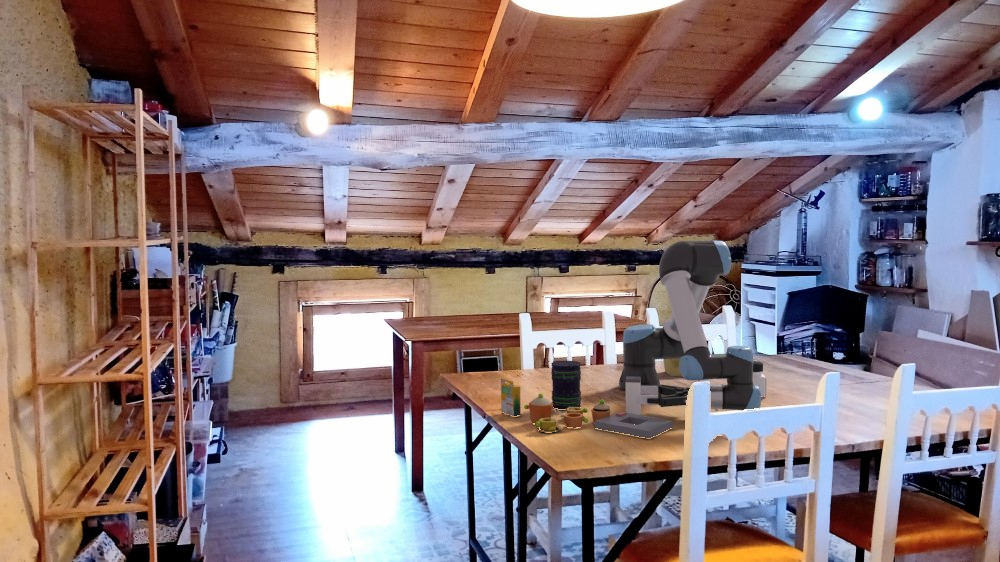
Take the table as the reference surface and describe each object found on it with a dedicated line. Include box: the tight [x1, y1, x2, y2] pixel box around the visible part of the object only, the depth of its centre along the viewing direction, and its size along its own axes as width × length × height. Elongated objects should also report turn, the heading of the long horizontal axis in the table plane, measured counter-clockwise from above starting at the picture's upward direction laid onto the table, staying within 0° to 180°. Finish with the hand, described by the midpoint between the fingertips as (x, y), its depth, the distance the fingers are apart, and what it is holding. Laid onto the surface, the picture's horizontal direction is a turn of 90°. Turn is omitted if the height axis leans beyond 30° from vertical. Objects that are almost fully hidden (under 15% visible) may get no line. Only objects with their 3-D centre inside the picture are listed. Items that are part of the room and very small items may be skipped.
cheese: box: [663, 359, 682, 377], centre depth 281 cm, size 10×11×10 cm
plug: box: [625, 376, 642, 415], centre depth 217 cm, size 4×4×12 cm
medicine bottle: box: [753, 360, 767, 398], centre depth 241 cm, size 7×7×12 cm
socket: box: [593, 411, 674, 438], centre depth 202 cm, size 18×14×3 cm
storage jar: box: [550, 360, 582, 409], centre depth 229 cm, size 10×10×15 cm
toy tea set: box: [523, 393, 611, 432], centre depth 209 cm, size 26×16×10 cm, turn 113°
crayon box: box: [500, 377, 521, 416], centre depth 221 cm, size 7×3×12 cm, turn 32°
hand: (636, 394), depth 216 cm, fingers open, 13 cm apart
